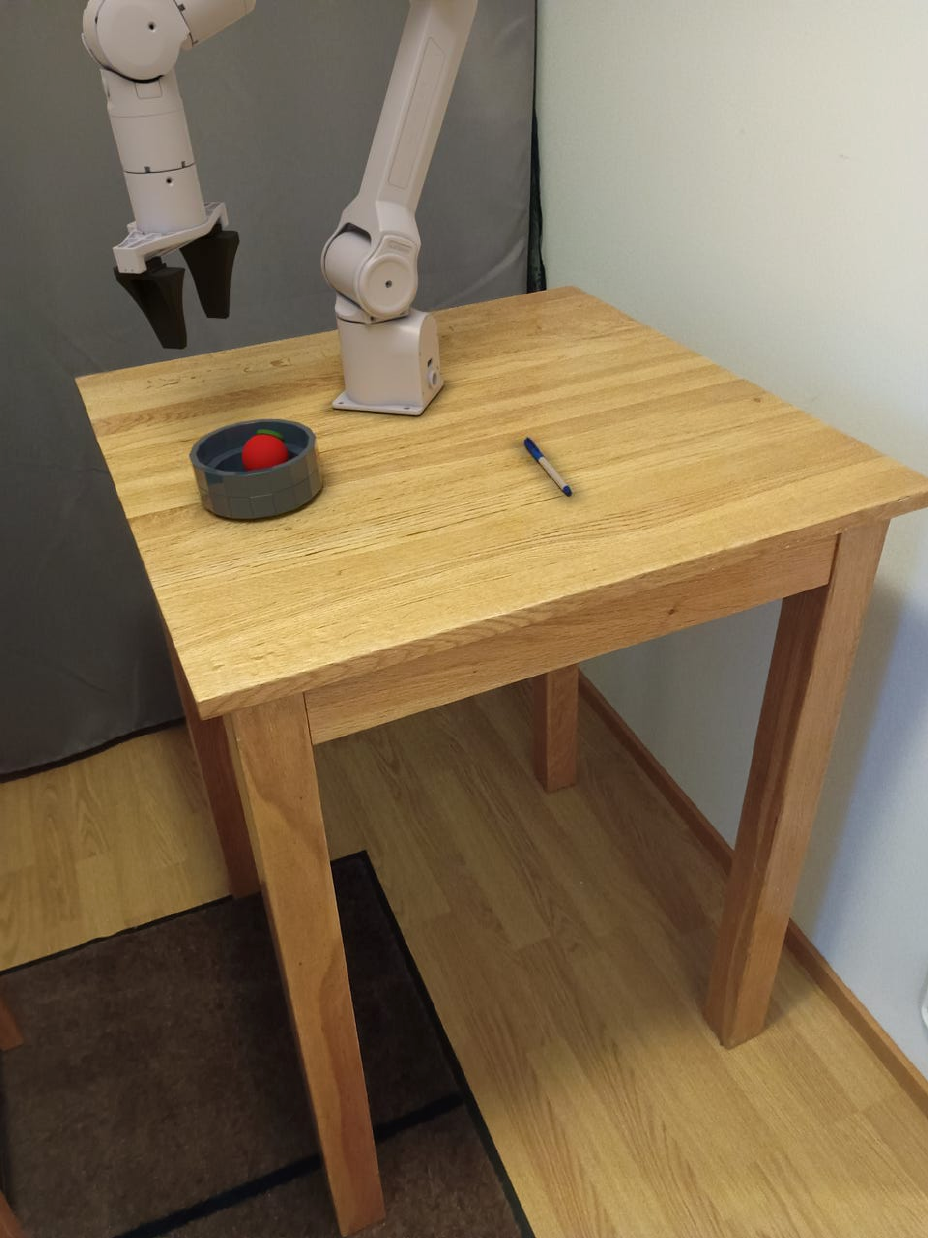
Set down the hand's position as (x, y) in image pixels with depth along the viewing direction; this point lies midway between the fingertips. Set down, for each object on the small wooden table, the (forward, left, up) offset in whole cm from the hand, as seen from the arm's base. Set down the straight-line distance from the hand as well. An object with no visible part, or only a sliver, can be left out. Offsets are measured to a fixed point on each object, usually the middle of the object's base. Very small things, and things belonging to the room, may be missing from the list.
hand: (197, 331), depth 83 cm
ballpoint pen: (-32, 0, -11) cm, 34 cm away
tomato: (-9, +9, -9) cm, 16 cm away
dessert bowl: (-9, +9, -10) cm, 16 cm away
